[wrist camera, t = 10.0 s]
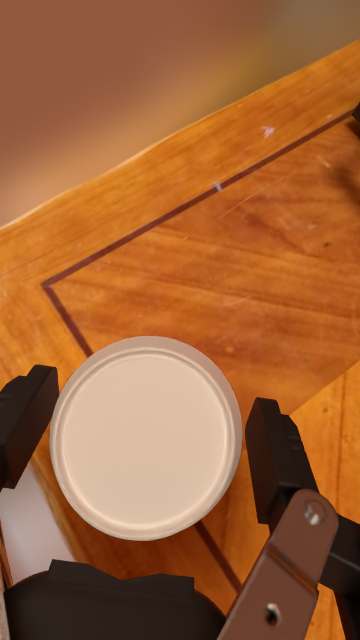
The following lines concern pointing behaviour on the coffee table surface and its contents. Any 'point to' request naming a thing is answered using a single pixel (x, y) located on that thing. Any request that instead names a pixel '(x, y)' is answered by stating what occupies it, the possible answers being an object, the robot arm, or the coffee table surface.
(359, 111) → the pull-out drawer
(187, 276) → the coffee table surface
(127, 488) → the beverage can
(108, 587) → the robot arm
